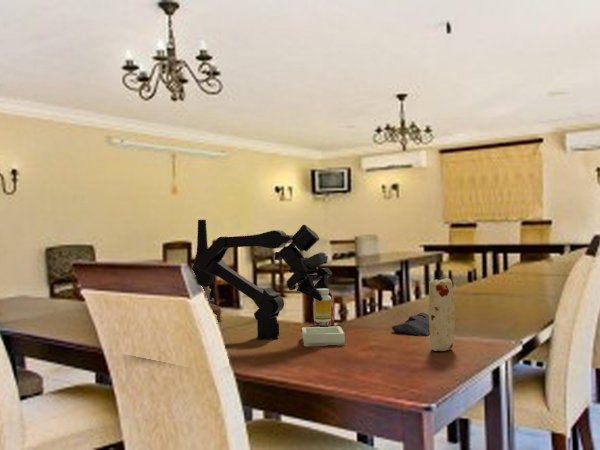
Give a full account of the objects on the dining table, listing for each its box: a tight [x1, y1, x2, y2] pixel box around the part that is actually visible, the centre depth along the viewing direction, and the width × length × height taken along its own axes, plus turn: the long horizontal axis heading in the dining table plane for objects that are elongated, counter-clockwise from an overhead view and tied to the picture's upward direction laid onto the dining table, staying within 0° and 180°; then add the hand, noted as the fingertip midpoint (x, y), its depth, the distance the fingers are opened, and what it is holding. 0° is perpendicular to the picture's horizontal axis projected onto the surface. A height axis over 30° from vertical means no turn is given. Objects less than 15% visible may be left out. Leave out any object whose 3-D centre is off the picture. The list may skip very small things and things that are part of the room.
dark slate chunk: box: [391, 312, 430, 337], centre depth 184 cm, size 15×22×5 cm
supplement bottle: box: [313, 288, 331, 322], centre depth 166 cm, size 5×5×10 cm
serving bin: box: [301, 325, 346, 347], centre depth 166 cm, size 12×12×4 cm
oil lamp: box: [191, 219, 223, 324], centre depth 205 cm, size 14×15×40 cm
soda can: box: [314, 291, 335, 327], centre depth 195 cm, size 7×7×12 cm
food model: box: [427, 277, 456, 352], centre depth 152 cm, size 10×7×20 cm
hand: (326, 299), depth 165 cm, fingers closed on supplement bottle, 5 cm apart
